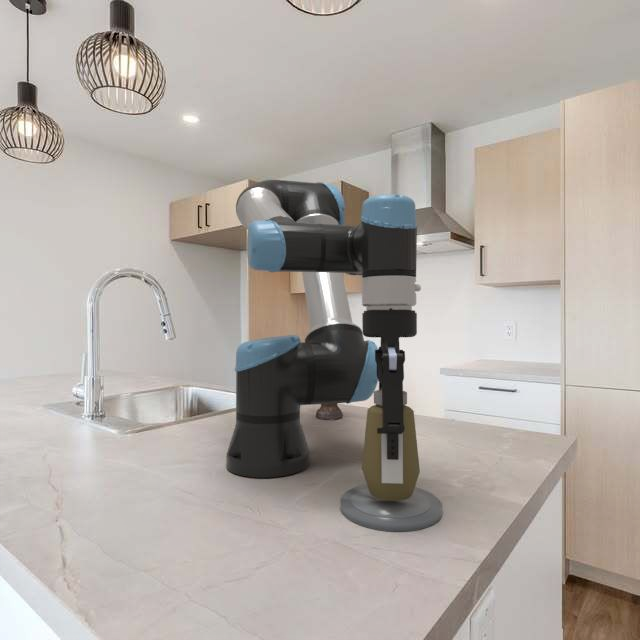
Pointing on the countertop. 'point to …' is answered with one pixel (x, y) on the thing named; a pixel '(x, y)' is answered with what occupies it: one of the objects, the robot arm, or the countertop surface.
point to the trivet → (391, 510)
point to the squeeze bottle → (374, 456)
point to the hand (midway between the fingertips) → (390, 471)
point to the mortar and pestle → (329, 412)
